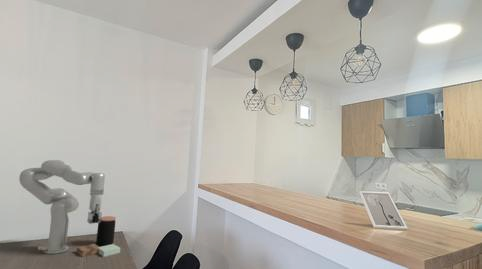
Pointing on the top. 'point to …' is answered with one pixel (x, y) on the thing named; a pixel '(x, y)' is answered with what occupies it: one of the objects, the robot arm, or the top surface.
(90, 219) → the housing
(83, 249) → the stand
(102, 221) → the coffee jar
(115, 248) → the stand
